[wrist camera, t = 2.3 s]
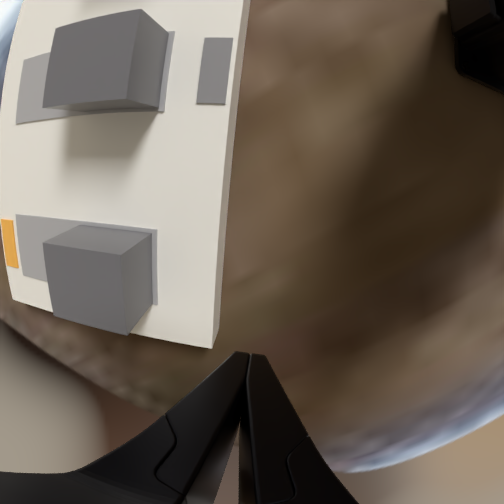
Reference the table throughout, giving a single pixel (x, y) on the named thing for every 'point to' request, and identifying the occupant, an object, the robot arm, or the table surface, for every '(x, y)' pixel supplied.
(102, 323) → the tab
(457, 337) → the table surface
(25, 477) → the robot arm
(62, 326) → the table surface
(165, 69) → the switch panel
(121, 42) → the tab middle
